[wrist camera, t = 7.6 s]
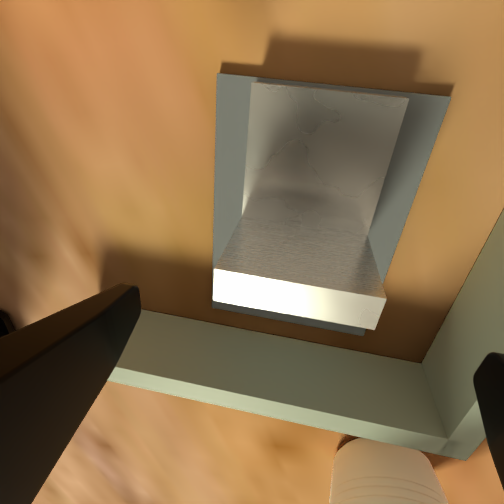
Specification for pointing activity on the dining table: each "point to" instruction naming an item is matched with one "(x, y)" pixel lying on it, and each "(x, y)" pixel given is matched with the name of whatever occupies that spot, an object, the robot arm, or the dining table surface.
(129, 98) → the dining table surface
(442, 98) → the pad
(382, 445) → the cup
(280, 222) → the bracket
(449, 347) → the corner frame
